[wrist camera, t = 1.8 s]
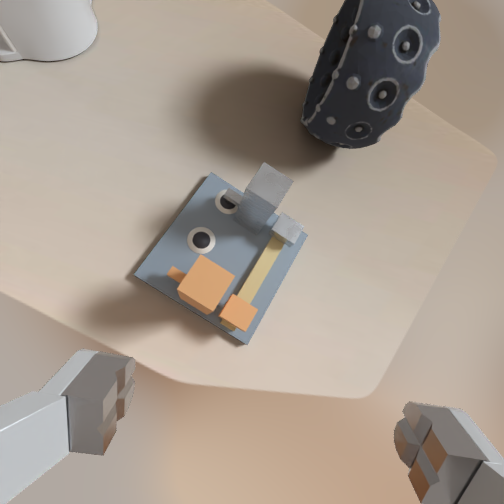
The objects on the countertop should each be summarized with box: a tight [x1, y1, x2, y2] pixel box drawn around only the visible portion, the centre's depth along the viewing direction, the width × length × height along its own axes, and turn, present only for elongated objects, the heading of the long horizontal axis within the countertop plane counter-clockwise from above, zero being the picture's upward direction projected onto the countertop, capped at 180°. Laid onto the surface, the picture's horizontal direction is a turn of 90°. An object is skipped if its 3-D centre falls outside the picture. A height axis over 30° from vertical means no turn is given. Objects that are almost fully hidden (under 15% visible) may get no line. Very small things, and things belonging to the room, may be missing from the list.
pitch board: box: [134, 172, 308, 345], centre depth 39 cm, size 17×18×2 cm
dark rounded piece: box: [301, 0, 441, 149], centre depth 40 cm, size 11×20×20 cm, turn 167°
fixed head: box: [224, 162, 304, 247], centre depth 36 cm, size 12×4×10 cm, turn 60°
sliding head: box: [167, 254, 258, 332], centre depth 32 cm, size 12×4×10 cm, turn 60°
